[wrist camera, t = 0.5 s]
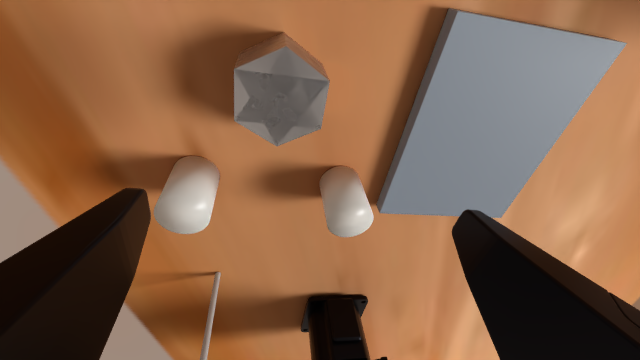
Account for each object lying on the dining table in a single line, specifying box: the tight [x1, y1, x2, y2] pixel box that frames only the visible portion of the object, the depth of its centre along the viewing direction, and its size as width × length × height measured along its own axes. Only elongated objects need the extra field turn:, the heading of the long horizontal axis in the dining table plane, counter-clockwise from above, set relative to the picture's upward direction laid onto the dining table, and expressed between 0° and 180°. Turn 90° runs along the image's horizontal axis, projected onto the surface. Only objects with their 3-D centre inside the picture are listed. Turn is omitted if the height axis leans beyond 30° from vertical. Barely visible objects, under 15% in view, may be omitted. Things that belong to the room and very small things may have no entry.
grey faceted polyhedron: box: [234, 32, 330, 146], centre depth 16 cm, size 5×4×3 cm
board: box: [376, 8, 627, 218], centre depth 21 cm, size 14×11×1 cm
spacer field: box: [154, 156, 373, 237], centre depth 16 cm, size 17×13×4 cm
